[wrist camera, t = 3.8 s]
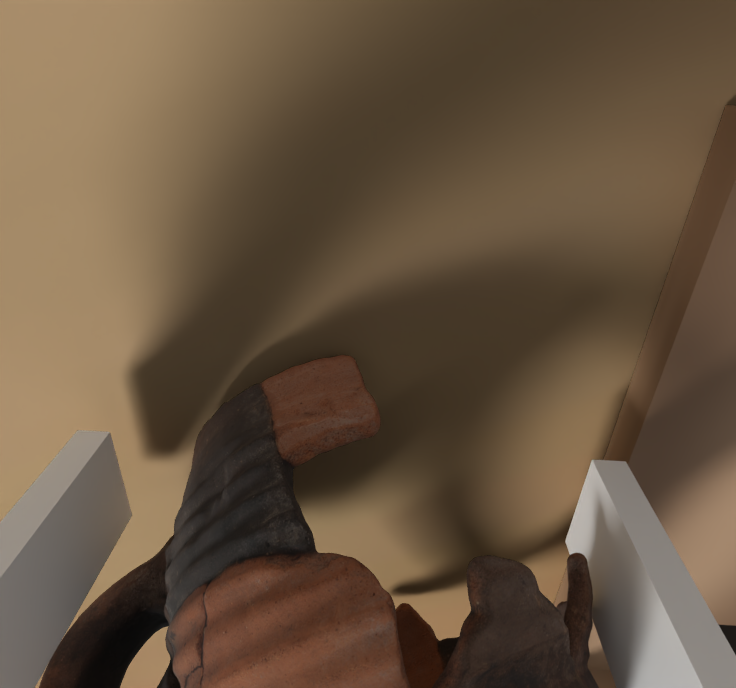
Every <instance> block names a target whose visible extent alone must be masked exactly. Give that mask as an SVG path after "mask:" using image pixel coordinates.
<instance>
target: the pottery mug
mask: <svg viewBox="0 0 736 688" xmlns="http://www.w3.org/2000/svg"><path fill="white" fill-rule="evenodd" d="M380 423H381V419H380V414H379V410H378V408H377V405H376V403H375V400H374V398H373V397H372V395H371V394H369V393H368V391H367V390H366V388H365V385H364V381H363V378H362V375H361V373H360V371H359V369H358V366H357V363H356V361H355V359H354V358H353V357H351V356H347V355H339V356H335V357H330V358H321V359H316V360H313V361H310V362H307V363H304V364H302V365H298V366H294V367H291V368H289V369H287V370H285V371H283V372H281V373H279V374H277V375H275V376H272V377H269V378H268V379H266V380H265V381H263V382H262V383H260V384H255V385H253V386H251V387H249V388H248V389H246V390H245V391H243V392H242V393H240V394H239V395H237V396H236V397H235V398H234V399H232V400H230V401H229V402H226V403H224V404H223V405H222V406H221V407H220V408H219V409H218V411H217V412H216V413H215V414H214V415H213V416H212V417H211V419H210V420H208V421H207V422H206V424H205V425H204V426H203V428H202V430H201V431H200V433H199V435H198V437H197V440H196V444H195V448H194V455H193V462H192V469H191V472H190V475H189V478H188V482H187V485H186V489H185V492H184V496H183V502H182V506H181V508H180V510H179V512H178V514H177V517H176V519H175V524H174V535H173V536H172V537H171V538H170V539H169V540H168V542H167V543H166V544H165V546H164V547H163V548H162V549H161V550H160V552H159V553H158V554H156V555H155V556H154V557H153V558H151V559H150V560H149V561H147V562H145V563H144V564H142V565H140V566H139V567H137V568H135V569H134V570H132V571H131V572H129V573H128V574H127V575H125V576H124V577H123V578H121V579H120V580H119V581H117V582H116V583H114V584H113V585H112V586H111V587H110V588H109V589H107V590H106V591H105V592H104V593H103V594H102V595H100V596H99V597H98V598H97V599H96V600H95V601H94V602H93V603H92V604H91V605H90V606H89V607H88V608H87V609H86V610H85V611H84V612H83V613H82V614H81V616H80V617H79V618H78V619H77V620H76V622H75V623H74V624H73V626H72V627H71V628H70V629H69V631H68V632H67V633H66V635H65V636H64V638H63V639H62V641H61V642H60V644H59V645H58V647H57V649H56V651H55V652H54V654H53V656H52V658H51V659H50V661H49V664H48V666H47V668H46V670H45V672H44V675H43V677H42V680H41V683H40V686H39V688H120V685H121V683H122V680H123V678H124V675H125V672H126V670H127V668H128V666H129V664H130V663H131V661H132V660H133V658H134V657H135V655H136V654H137V653H138V651H139V650H140V649H141V647H142V646H143V645H144V644H145V642H146V641H147V640H148V639H149V638H150V637H151V636H152V635H153V634H154V633H155V632H157V631H158V630H160V629H161V628H163V627H166V626H169V627H168V630H167V634H166V639H165V640H166V647H167V650H168V652H169V654H170V657H171V660H170V664H169V666H168V668H167V670H166V672H165V675H164V676H163V678H162V680H161V681H160V683H159V685H158V687H157V688H599V687H598V685H597V683H596V681H595V679H594V677H593V676H592V674H591V672H590V670H589V669H588V665H587V664H588V660H589V657H590V652H589V646H588V642H589V638H590V633H591V630H592V627H593V621H592V604H593V590H592V583H591V578H590V574H589V568H588V562H587V559H586V557H585V556H584V555H583V554H581V553H573V554H571V555H570V556H569V557H568V560H567V574H568V594H567V601H565V602H560V603H559V604H558V605H557V607H555V606H554V604H552V603H551V602H550V601H549V600H548V599H547V598H546V597H545V596H544V595H543V594H542V593H541V592H540V591H539V588H538V585H537V581H536V578H535V576H534V574H533V573H532V571H531V570H530V569H529V568H528V567H527V566H525V565H524V564H522V563H520V562H517V561H514V560H510V559H504V558H500V557H496V556H491V555H487V556H479V557H476V558H474V559H473V560H472V561H471V562H470V563H469V566H468V568H467V587H468V596H469V601H470V605H471V612H470V614H469V615H468V617H467V618H466V620H465V621H464V623H463V626H462V628H461V632H460V637H457V638H447V639H443V640H441V641H439V640H438V639H437V638H436V636H435V634H434V631H433V630H432V628H431V626H430V625H429V624H427V623H426V622H425V621H424V620H423V619H422V617H421V616H420V615H419V614H418V613H417V612H416V611H415V610H414V609H413V608H412V607H411V606H410V605H409V604H407V603H402V604H400V605H399V606H398V607H397V608H396V610H395V606H394V602H393V600H392V597H391V596H390V594H389V593H388V592H387V591H385V590H384V589H383V588H382V587H381V585H380V583H379V581H378V579H377V578H376V577H375V576H374V574H373V573H372V572H371V571H370V570H369V569H368V568H367V567H365V566H364V565H363V564H362V563H360V562H359V561H358V560H356V559H354V558H352V557H347V556H343V555H339V554H335V553H318V552H317V551H316V548H315V543H314V538H313V534H312V531H311V530H310V528H309V526H308V524H307V523H306V521H305V519H304V516H303V514H302V511H301V508H300V506H299V504H298V503H297V501H296V499H295V496H294V493H293V469H294V468H295V467H296V466H299V465H301V464H303V463H305V462H307V461H309V460H310V459H312V458H313V457H315V456H316V455H318V454H320V453H324V452H328V451H330V450H332V449H334V448H336V447H339V446H343V445H346V444H348V443H351V442H354V441H357V440H361V439H365V438H369V437H372V436H374V435H375V434H376V433H377V432H378V430H379V428H380Z"/></svg>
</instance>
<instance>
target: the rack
mask: <svg viewBox="0 0 736 688" xmlns="http://www.w3.org/2000/svg"><path fill="white" fill-rule="evenodd" d="M604 460H609V461H626V463H627V465H628V466H629V468H630V470H631V472H632V473H633V475H634V477H635V479H636V480H637V482H638V484H639V486H640V487H641V489H642V491H643V493H644V495H645V496H646V498H647V500H648V502H649V503H650V505H651V507H652V509H653V510H654V512H655V514H656V516H657V517H658V519H659V521H660V523H661V524H662V526H663V528H664V530H665V532H666V533H667V535H668V537H669V539H670V540H671V542H672V544H673V546H674V547H675V549H676V551H677V553H678V554H679V556H680V558H681V560H682V561H683V563H684V565H685V567H686V569H687V570H688V572H689V574H690V576H691V577H692V579H693V581H694V583H695V584H696V586H697V588H698V590H699V591H700V593H701V595H702V597H703V599H704V600H705V602H706V604H707V606H708V607H709V609H710V611H711V613H712V614H713V616H714V618H715V620H716V621H717V623H718V624H719V625H735V626H736V105H726V106H725V109H724V112H723V115H722V118H721V121H720V123H719V126H718V129H717V132H716V135H715V138H714V141H713V144H712V147H711V150H710V152H709V155H708V158H707V161H706V164H705V167H704V170H703V173H702V176H701V179H700V182H699V184H698V187H697V190H696V193H695V196H694V199H693V202H692V205H691V208H690V211H689V213H688V216H687V219H686V222H685V225H684V228H683V231H682V234H681V237H680V240H679V243H678V245H677V248H676V251H675V254H674V257H673V260H672V263H671V266H670V269H669V272H668V274H667V277H666V280H665V283H664V286H663V289H662V292H661V295H660V298H659V301H658V304H657V306H656V309H655V312H654V315H653V318H652V321H651V324H650V327H649V330H648V333H647V335H646V338H645V341H644V344H643V347H642V350H641V353H640V356H639V359H638V362H637V365H636V367H635V370H634V373H633V376H632V379H631V382H630V385H629V388H628V391H627V394H626V396H625V399H624V402H623V405H622V408H621V411H620V414H619V417H618V420H617V423H616V426H615V428H614V431H613V434H612V437H611V440H610V443H609V446H608V449H607V452H606V455H605V457H604ZM567 594H568V574H567V568H566V571H565V574H564V577H563V579H562V582H561V585H560V588H559V591H558V594H557V597H556V600H555V603H554V606H555V607H557V605H558V604H559V603H560V602H565V601H567ZM592 621H593V619H592ZM588 646H589V652H590V657H589V660H588V664H587V665H588V669H589V670H590V672H591V674H592V676H593V677H594V679H595V681H596V683H597V685H598V687H599V688H616V685H615V682H614V679H613V676H612V674H611V671H610V668H609V665H608V662H607V659H606V656H605V654H604V651H603V648H602V645H601V642H600V639H599V636H598V634H597V631H596V628H595V625H594V622H593V627H592V630H591V633H590V638H589V642H588Z"/></svg>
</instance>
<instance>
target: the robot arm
mask: <svg viewBox="0 0 736 688" xmlns="http://www.w3.org/2000/svg"><path fill="white" fill-rule="evenodd" d="M131 516H132V513H131V509H130V505H129V501H128V498H127V494H126V490H125V486H124V483H123V479H122V475H121V471H120V468H119V464H118V460H117V456H116V453H115V449H114V445H113V441H112V438H111V434H110V432H102V431H84V430H77V432H76V433H75V434H74V435H73V436H72V438H71V439H70V440H69V441H68V442H67V443H66V445H65V446H64V447H63V448H62V449H61V451H60V452H59V453H58V454H57V455H56V457H55V458H54V459H53V460H52V461H51V463H50V464H49V465H48V466H47V467H46V468H45V470H44V471H43V472H42V473H41V474H40V476H39V477H38V478H37V479H36V480H35V482H34V483H33V484H32V485H31V486H30V488H29V489H28V490H27V491H26V492H25V493H24V495H23V496H22V497H21V498H20V499H19V501H18V502H17V503H16V504H15V505H14V507H13V508H12V509H11V510H10V511H9V513H8V514H7V515H6V516H5V517H4V518H3V520H2V521H1V522H0V688H35V686H36V684H37V682H38V681H39V679H40V677H41V675H42V673H43V672H44V670H45V668H46V666H47V665H48V663H49V661H50V659H51V658H52V656H53V654H54V652H55V651H56V649H57V647H58V645H59V643H60V642H61V640H62V638H63V636H64V635H65V633H66V631H67V629H68V628H69V626H70V624H71V622H72V621H73V619H74V617H75V615H76V613H77V612H78V610H79V608H80V606H81V605H82V603H83V601H84V599H85V598H86V596H87V594H88V592H89V591H90V589H91V587H92V585H93V584H94V582H95V580H96V578H97V576H98V575H99V573H100V571H101V569H102V568H103V566H104V564H105V562H106V561H107V559H108V557H109V555H110V554H111V552H112V550H113V548H114V546H115V545H116V543H117V541H118V539H119V538H120V536H121V534H122V532H123V531H124V529H125V527H126V525H127V524H128V522H129V520H130V518H131ZM565 542H566V545H567V548H568V551H569V554H570V555H571V554H573V553H581V554H583V555H584V556H585V557H586V559H587V562H588V568H589V574H590V578H591V583H592V590H593V604H592V619H593V622H594V625H595V628H596V631H597V634H598V636H599V639H600V642H601V645H602V648H603V651H604V654H605V656H606V659H607V662H608V665H609V668H610V671H611V674H612V676H613V679H614V682H615V685H616V688H736V626H735V625H719V624H718V623H717V621H716V620H715V618H714V616H713V614H712V613H711V611H710V609H709V607H708V606H707V604H706V602H705V600H704V599H703V597H702V595H701V593H700V591H699V590H698V588H697V586H696V584H695V583H694V581H693V579H692V577H691V576H690V574H689V572H688V570H687V569H686V567H685V565H684V563H683V561H682V560H681V558H680V556H679V554H678V553H677V551H676V549H675V547H674V546H673V544H672V542H671V540H670V539H669V537H668V535H667V533H666V532H665V530H664V528H663V526H662V524H661V523H660V521H659V519H658V517H657V516H656V514H655V512H654V510H653V509H652V507H651V505H650V503H649V502H648V500H647V498H646V496H645V495H644V493H643V491H642V489H641V487H640V486H639V484H638V482H637V480H636V479H635V477H634V475H633V473H632V472H631V470H630V468H629V466H628V465H627V463H626V461H609V460H592V461H591V464H590V467H589V470H588V473H587V477H586V480H585V483H584V486H583V489H582V492H581V495H580V498H579V501H578V504H577V507H576V510H575V513H574V516H573V519H572V522H571V525H570V528H569V531H568V534H567V537H566V540H565Z"/></svg>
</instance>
